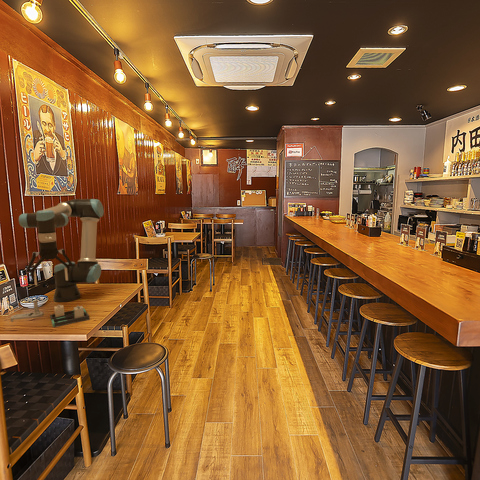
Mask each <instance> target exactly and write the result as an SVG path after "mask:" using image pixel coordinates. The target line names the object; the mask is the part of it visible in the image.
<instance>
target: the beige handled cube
mask: <svg viewBox="0 0 480 480" xmlns="http://www.w3.org/2000/svg"><path fill="white" fill-rule="evenodd" d="M83 308H84V307H83V305H81V306H80V305H76V306H75V307H73V310H74V318H79V317H84V309H85V308H84V309H83Z"/></svg>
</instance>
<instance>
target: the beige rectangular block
mask: <svg viewBox="0 0 480 480" xmlns="http://www.w3.org/2000/svg"><path fill="white" fill-rule="evenodd" d="M53 309H54V314H55V317H58V316H63V315H65V314H64V312H65V307H64V305H63V304H59V303H58V304H57V305H54V306H53Z"/></svg>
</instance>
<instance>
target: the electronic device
mask: <svg viewBox="0 0 480 480" xmlns="http://www.w3.org/2000/svg"><path fill="white" fill-rule="evenodd" d="M33 310H34V311H33V312H26V313H18V314H14V315H13V314H12V316H10V321H11V322H12V323H13V322H14V320H23V319H36V318H41V317H43V316H44V312H43V311H40V308H39V305H38V300H33Z"/></svg>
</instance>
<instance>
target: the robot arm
mask: <svg viewBox="0 0 480 480" xmlns="http://www.w3.org/2000/svg"><path fill="white" fill-rule="evenodd" d="M104 213H105V212H104V206H103V204H102V202H101V200H99V199H97V198H96V199H95V198H76V199H75V198H73V199H69V200H67V201H62V202H60V203H57V205H54V206H51V207H49V208H45V209H42V210H37V211H35V212H31V213H28V212H27V213H21V214H20V215H19V216H18V224H19V225H20V227H22V228H24V229H25V228H26V229H27V228H28V229H31V228H33V229H35V228H37V234H38V235H37V237H38V245H39V247H38V248H39V251H38V252H37V251H33V252H32V255H31V258H30V261H29V263H28V264H27V266H26V269H25V271H26V272H27V273H30V276H31V277H30V278H31V279H33V281H34V286H38V280H37V273H36V270H37V268H39V266H40V265H41V263H42V262H43V261H48V260H54V259H56V260H57V261H58V262H60V263H58V264H56V265H54V269H53V274H54V281H55V282H54V283H55V290H54V294H53V301H54V302H56V303H67V302H72V301H76V300H78V299H80V298H81V295H82V294H81V292H80V289H79V287H78V284H79V283H81V284H82V283H84V284H85V283H87V284H89V283H95V282H96V283H97V281H98V280H99V279H100V277H101V274H102V266H101V265H100V264H99V261H98V260H97V259H96V254H97V251H96V250H97V234H98V222H99V221H100V219H101V218H102V217H104ZM69 218H79V219H80V221H81V222H82V223H81V240H80V242H81V244H80V258H79V259H78V260H77V264H76V262H75V261H71V259H70V258H69V257H68V255H67V254H66V250H65V249H64V248H61V249H58V243H57V230H56V229H58V228H63V227H66V226H67V225H68V223H69V220H70V219H69ZM59 253H60V254H61V255H62V256H63V258H64V259H65V260H66V261H67V262H65V261H64V260H62V259H61V258H60V257H59V256H58V255H59ZM38 255H39V256H40V258H39V259H38V260H37V262H36V263H35V264H34V262H35V260H36V257H38ZM33 264H34V265H33ZM32 266H33V267H32ZM77 283H78V284H77Z"/></svg>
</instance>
